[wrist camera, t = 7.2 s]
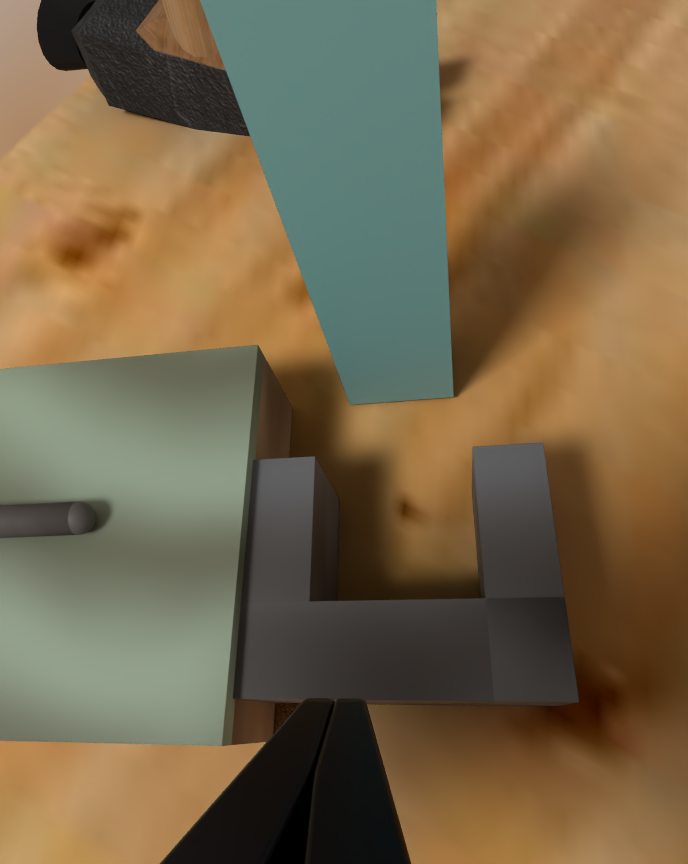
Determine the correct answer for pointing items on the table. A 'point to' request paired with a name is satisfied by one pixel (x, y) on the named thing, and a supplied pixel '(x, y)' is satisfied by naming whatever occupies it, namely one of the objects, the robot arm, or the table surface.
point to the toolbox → (233, 566)
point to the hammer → (145, 58)
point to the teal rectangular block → (354, 174)
